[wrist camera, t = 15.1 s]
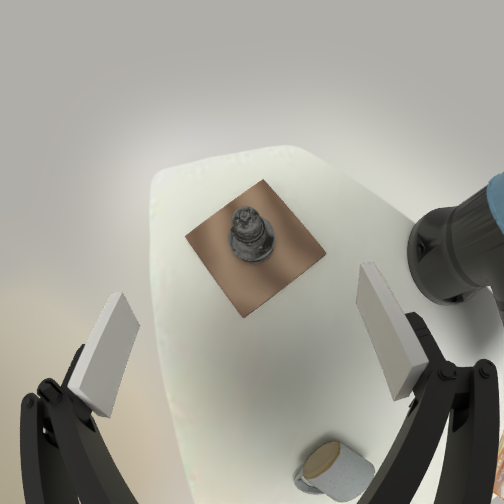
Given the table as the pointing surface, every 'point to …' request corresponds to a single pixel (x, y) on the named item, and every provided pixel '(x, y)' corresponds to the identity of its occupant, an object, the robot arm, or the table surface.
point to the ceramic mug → (336, 473)
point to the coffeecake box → (500, 471)
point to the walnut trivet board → (262, 274)
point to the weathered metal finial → (251, 236)
